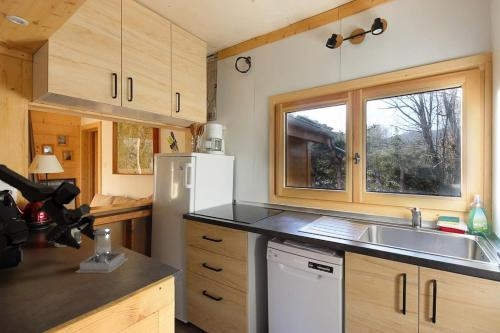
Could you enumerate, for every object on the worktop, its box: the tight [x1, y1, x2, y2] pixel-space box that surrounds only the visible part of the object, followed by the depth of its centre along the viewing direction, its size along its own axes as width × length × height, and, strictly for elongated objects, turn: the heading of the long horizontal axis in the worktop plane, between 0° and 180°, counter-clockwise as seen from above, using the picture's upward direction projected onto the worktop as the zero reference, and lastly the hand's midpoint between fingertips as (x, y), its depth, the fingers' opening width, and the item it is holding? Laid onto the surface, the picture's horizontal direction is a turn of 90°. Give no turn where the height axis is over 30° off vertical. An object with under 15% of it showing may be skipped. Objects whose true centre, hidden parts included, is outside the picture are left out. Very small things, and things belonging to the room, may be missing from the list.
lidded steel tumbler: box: [93, 226, 113, 262], centre depth 90 cm, size 6×6×13 cm
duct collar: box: [74, 252, 129, 274], centre depth 90 cm, size 12×12×3 cm
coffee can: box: [53, 218, 82, 248], centre depth 114 cm, size 10×10×14 cm
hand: (88, 243), depth 90 cm, fingers open, 9 cm apart
